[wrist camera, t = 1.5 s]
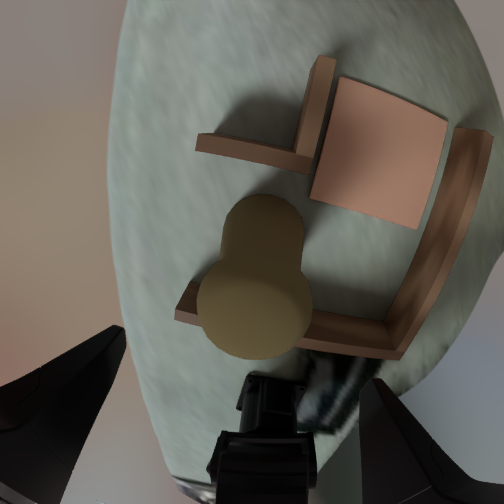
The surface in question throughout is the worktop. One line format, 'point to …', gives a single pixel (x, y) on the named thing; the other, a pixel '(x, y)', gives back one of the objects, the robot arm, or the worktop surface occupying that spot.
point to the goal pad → (378, 155)
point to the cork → (257, 282)
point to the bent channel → (428, 252)
